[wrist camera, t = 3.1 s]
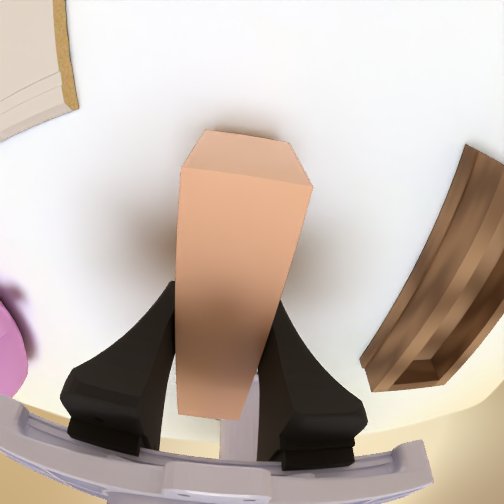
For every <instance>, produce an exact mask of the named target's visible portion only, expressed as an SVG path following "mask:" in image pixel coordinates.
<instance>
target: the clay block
mask: <svg viewBox="0 0 504 504" xmlns="http://www.w3.org/2000/svg"><path fill="white" fill-rule="evenodd" d="M312 190H313V186H312V184H311V182H310V180H309V178H308V176H307V174H306V172H305V171H304V169H303V167H302V165H301V163H300V161H299V160H298V158H297V156H296V154H295V152H294V151H293V149H292V147H291V145H290V143H287V142H282V141H276V140H271V139H265V138H259V137H253V136H247V135H240V134H234V133H226V132H219V131H211V130H205V131H204V133H203V134H202V136H201V137H200V139H199V140H198V142H197V143H196V145H195V146H194V148H193V150H192V151H191V153H190V154H189V156H188V157H187V159H186V161H185V162H184V164H183V165H182V168H181V180H180V192H179V207H178V223H177V244H176V274H175V355H176V384H177V403H178V414H180V415H188V416H195V417H204V418H213V419H224V420H237V421H239V418H240V416H241V413H242V410H243V407H244V405H245V402H246V399H247V396H248V393H249V391H250V388H251V385H252V382H253V379H254V376H255V373H256V371H257V368H258V365H259V362H260V359H261V356H262V353H263V350H264V347H265V344H266V341H267V338H268V335H269V332H270V329H271V326H272V323H273V320H274V317H275V314H276V310H277V307H278V304H279V301H280V298H281V295H282V292H283V288H284V285H285V282H286V279H287V275H288V272H289V269H290V266H291V262H292V259H293V256H294V252H295V249H296V246H297V242H298V239H299V235H300V232H301V229H302V225H303V222H304V218H305V215H306V211H307V208H308V204H309V201H310V197H311V193H312Z"/></svg>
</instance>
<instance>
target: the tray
mask: <svg viewBox="0 0 504 504" xmlns="http://www.w3.org/2000/svg"><path fill="white" fill-rule="evenodd" d="M503 314H504V165H503V164H501V163H499V162H498V161H496V160H494V159H493V158H491V157H489V156H487V155H485V154H483V153H482V152H480V151H478V150H476V149H474V148H472V147H470V146H468V145H465V148H464V151H463V154H462V157H461V160H460V163H459V166H458V169H457V171H456V174H455V177H454V179H453V182H452V185H451V187H450V190H449V192H448V195H447V197H446V200H445V202H444V205H443V207H442V210H441V212H440V214H439V217H438V219H437V221H436V223H435V226H434V228H433V230H432V232H431V234H430V237H429V239H428V241H427V243H426V245H425V247H424V249H423V251H422V253H421V255H420V257H419V259H418V261H417V263H416V265H415V267H414V269H413V271H412V273H411V275H410V277H409V279H408V280H407V282H406V284H405V286H404V288H403V290H402V291H401V293H400V295H399V297H398V298H397V300H396V302H395V304H394V305H393V307H392V309H391V311H390V312H389V314H388V316H387V317H386V319H385V321H384V322H383V324H382V325H381V327H380V329H379V330H378V332H377V333H376V335H375V337H374V338H373V340H372V341H371V343H370V344H369V346H368V347H367V349H366V350H365V352H364V353H363V355H362V356H361V358H360V363H361V366H362V368H365V371H366V375H367V378H368V382H369V385H370V389H371V392H384V391H397V390H407V389H416V388H425V387H432V386H440V385H445V384H446V382H447V381H448V380H449V379H450V378H451V377H452V376H453V375H454V374H455V373H456V372H457V371H458V370H459V369H460V367H461V366H462V365H463V364H464V363H465V362H466V361H467V360H468V358H469V357H470V356H471V355H472V354H473V353H474V351H475V350H476V349H477V348H478V347H479V345H480V344H481V343H482V342H483V340H484V339H485V338H486V337H487V335H488V334H489V333H490V331H491V330H492V329H493V327H494V326H495V325H496V323H497V322H498V321H499V319H500V318H501V317H502V315H503Z"/></svg>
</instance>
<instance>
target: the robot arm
mask: <svg viewBox="0 0 504 504" xmlns="http://www.w3.org/2000/svg"><path fill="white" fill-rule="evenodd" d="M174 355H175V281H171V282H169V284H168V286H167V287H166V289H165V290H164V291H163V293H162V294H161V296H160V297H159V298H158V300H157V301H156V302H155V303H154V304H153V306H152V307H151V308H150V309H149V311H148V312H147V313H146V314H145V315H144V316H143V317H142V318H141V319H140V320H139V321H138V323H137V324H136V325H135V326H134V327H132V328H131V329H130V330H129V331H128V332H127V333H126V334H125V335H124V336H123V337H121V338H120V339H119V340H118V341H116V342H115V343H114V344H113V345H111V346H110V347H109V348H107V349H106V350H104V351H103V352H101V353H100V354H98V355H97V356H95V357H94V358H92V359H90V360H89V361H87V362H85V363H83V364H81V365H79V366H77V367H75V368H73V369H72V371H71V372H70V374H69V376H68V378H67V379H66V381H65V384H64V387H63V389H62V392H61V394H60V400H61V402H62V404H63V406H64V407H65V408H66V410H67V411H68V413H69V414H70V416H71V419H70V422H69V426H68V427H66V426H63V425H60V424H57V423H55V422H52V421H50V420H47V419H44V418H42V417H40V416H37V415H35V414H32V413H30V412H29V411H28V409H27V408H26V407H25V406H24V405H23V404H22V403H20V402H18V401H17V400H14V399H12V398H10V397H8V396H6V395H4V394H0V451H1V452H2V453H3V454H4V455H6V456H7V457H9V458H10V459H12V460H14V461H16V462H18V463H20V464H21V465H24V466H26V467H27V468H29V469H31V470H34V471H36V472H38V473H40V474H42V475H44V476H46V477H48V478H51V479H53V480H55V481H58V482H60V483H62V484H65V485H67V486H69V487H72V488H74V489H77V490H80V491H82V492H85V493H88V494H91V495H93V496H96V497H99V498H103V499H106V500H107V504H381V503H385V502H389V501H392V500H396V499H400V498H403V497H405V496H408V495H410V494H412V493H414V492H416V491H419V490H421V489H423V488H425V487H427V486H429V485H431V484H433V482H434V481H433V477H432V473H431V469H430V465H429V461H428V458H427V454H426V450H425V447H424V443H423V441H422V440H417V441H412V442H407V443H404V444H401V445H399V446H397V447H395V448H394V449H393V450H392V451H389V452H383V453H377V454H370V455H364V456H357V457H354V453H353V448H352V447H353V446H355V441H354V437H355V436H356V435H357V434H358V433H360V432H361V431H362V430H363V429H364V428H365V426H366V425H367V423H368V420H367V416H366V412H365V409H364V406H363V403H362V401H361V400H360V399H358V398H357V397H356V396H354V395H353V394H352V393H350V392H349V391H348V390H346V389H345V388H344V387H343V386H342V385H340V384H339V383H338V382H337V381H336V380H335V379H334V378H333V377H332V376H331V375H330V374H329V373H328V372H327V371H326V370H325V369H324V368H323V367H322V366H321V365H320V363H319V362H318V361H317V360H316V359H315V357H314V356H313V355H312V353H311V352H310V351H309V349H308V348H307V347H306V345H305V344H304V342H303V341H302V339H301V338H300V336H299V334H298V333H297V331H296V329H295V328H294V326H293V324H292V322H291V320H290V319H289V317H288V315H287V313H286V311H285V309H284V307H283V304H282V302H281V300H280V301H279V304H278V307H277V310H276V314H275V317H274V320H273V323H272V326H271V329H270V332H269V335H268V338H267V341H266V344H265V347H264V350H263V353H262V356H261V359H260V362H259V365H258V375H255V376H254V379H253V382H252V385H251V388H250V391H249V393H248V396H247V399H246V402H245V405H244V407H243V410H242V413H241V416H240V418H239V421H237V420H224V419H216V420H221V430H220V452H219V459H211V458H202V457H194V456H186V455H179V454H173V453H166V452H161V451H159V445H160V435H161V426H162V417H163V410H164V402H165V395H166V389H167V382H168V377H169V373H170V369H171V366H172V362H173V359H174Z"/></svg>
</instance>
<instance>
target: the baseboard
mask: <svg viewBox="0 0 504 504" xmlns="http://www.w3.org/2000/svg"><path fill="white" fill-rule="evenodd" d="M66 21H67V17H66V12H65V0H0V142H1V141H3V140H5V139H7V138H9V137H11V136H13V135H15V134H17V133H20V132H22V131H24V130H26V129H28V128H31V127H33V126H35V125H38V124H40V123H42V122H45V121H47V120H50V119H52V118H55V117H57V116H60V115H63V114H65V113H68V112H71V111H74V110H76V109H79V106H78V101H77V96H76V90H75V84H74V78H73V72H72V65H71V63H70V56H69V40H68V37H67V27H66Z"/></svg>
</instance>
